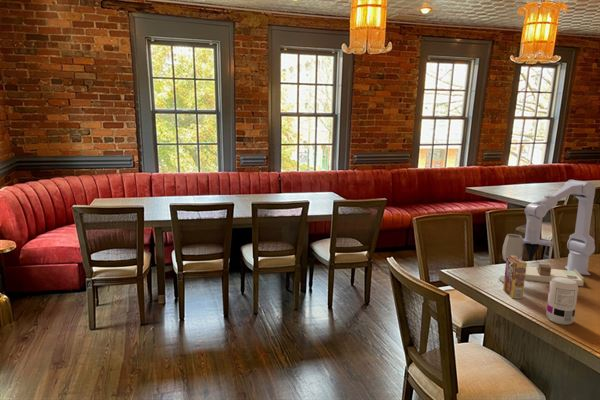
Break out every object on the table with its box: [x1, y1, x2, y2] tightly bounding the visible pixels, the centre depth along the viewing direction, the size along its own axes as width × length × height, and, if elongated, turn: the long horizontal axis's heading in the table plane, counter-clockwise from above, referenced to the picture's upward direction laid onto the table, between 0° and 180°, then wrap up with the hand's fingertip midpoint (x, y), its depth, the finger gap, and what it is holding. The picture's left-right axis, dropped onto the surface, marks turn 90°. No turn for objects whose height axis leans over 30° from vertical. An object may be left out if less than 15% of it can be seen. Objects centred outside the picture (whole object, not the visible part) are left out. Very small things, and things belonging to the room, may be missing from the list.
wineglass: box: [498, 233, 525, 284], centre depth 173 cm, size 9×9×21 cm
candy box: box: [502, 256, 528, 300], centre depth 160 cm, size 9×4×15 cm, turn 176°
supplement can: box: [545, 276, 579, 326], centre depth 138 cm, size 8×8×15 cm
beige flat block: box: [525, 266, 585, 287], centre depth 178 cm, size 12×23×4 cm, turn 70°
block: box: [538, 263, 552, 276], centre depth 176 cm, size 4×4×4 cm
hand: (530, 259), depth 177 cm, fingers closed
